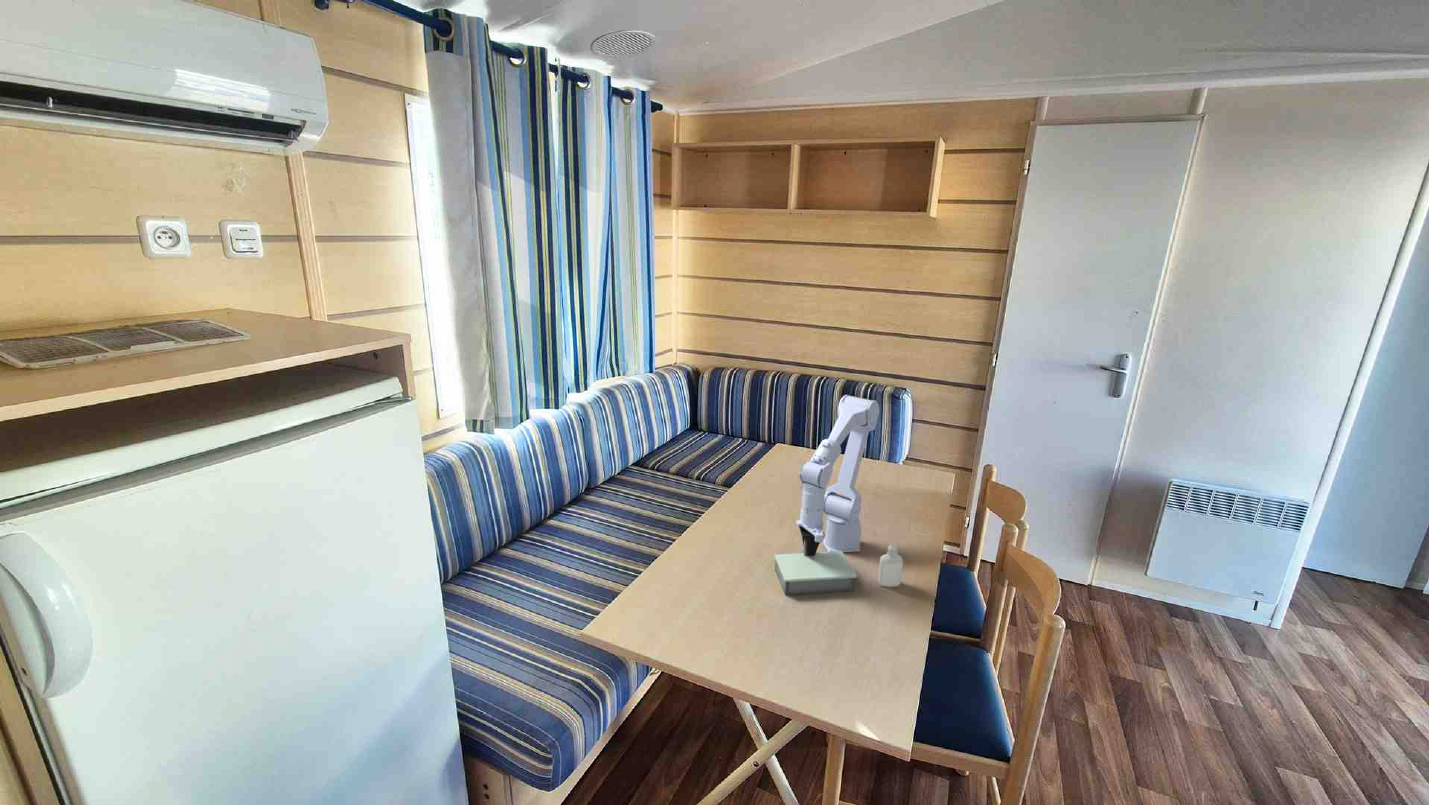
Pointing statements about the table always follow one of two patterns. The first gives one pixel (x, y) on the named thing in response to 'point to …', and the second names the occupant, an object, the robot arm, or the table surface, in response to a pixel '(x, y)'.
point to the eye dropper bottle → (890, 568)
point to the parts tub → (815, 585)
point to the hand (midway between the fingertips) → (809, 552)
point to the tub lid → (814, 566)
